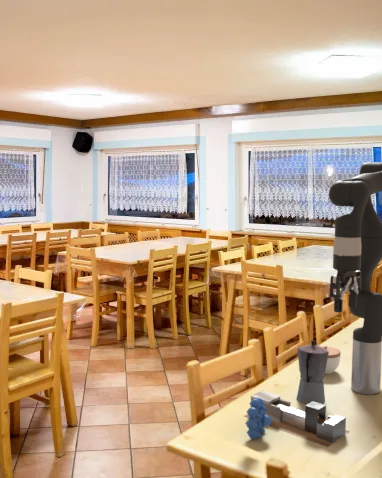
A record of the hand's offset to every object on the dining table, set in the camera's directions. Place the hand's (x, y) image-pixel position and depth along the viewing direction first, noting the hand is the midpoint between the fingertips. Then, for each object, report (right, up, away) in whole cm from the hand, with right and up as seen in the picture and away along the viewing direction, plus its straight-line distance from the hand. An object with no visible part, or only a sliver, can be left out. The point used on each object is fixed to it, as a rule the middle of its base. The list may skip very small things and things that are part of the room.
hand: (345, 309), depth 154 cm
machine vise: (-14, -33, -1) cm, 36 cm away
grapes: (-25, -34, -8) cm, 43 cm away
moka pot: (-6, -32, +16) cm, 36 cm away
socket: (-6, -33, -9) cm, 34 cm away
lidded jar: (+6, -29, +46) cm, 54 cm away
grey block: (-12, -32, -3) cm, 34 cm away
